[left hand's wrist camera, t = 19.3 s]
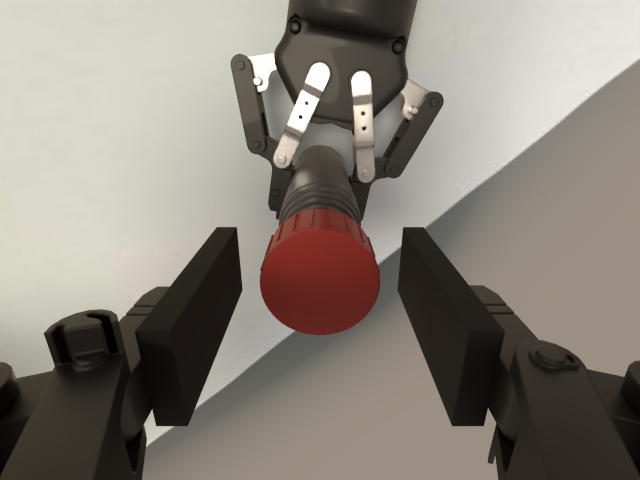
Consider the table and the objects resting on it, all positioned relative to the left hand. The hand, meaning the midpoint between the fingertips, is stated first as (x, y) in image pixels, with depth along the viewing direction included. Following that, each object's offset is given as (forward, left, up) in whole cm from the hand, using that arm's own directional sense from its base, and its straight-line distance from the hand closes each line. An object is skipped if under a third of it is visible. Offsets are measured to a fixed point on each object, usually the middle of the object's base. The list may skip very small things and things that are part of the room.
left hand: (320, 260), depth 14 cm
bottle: (0, 0, -19) cm, 19 cm away
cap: (0, 0, +2) cm, 2 cm away
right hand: (-2, -2, -13) cm, 13 cm away
